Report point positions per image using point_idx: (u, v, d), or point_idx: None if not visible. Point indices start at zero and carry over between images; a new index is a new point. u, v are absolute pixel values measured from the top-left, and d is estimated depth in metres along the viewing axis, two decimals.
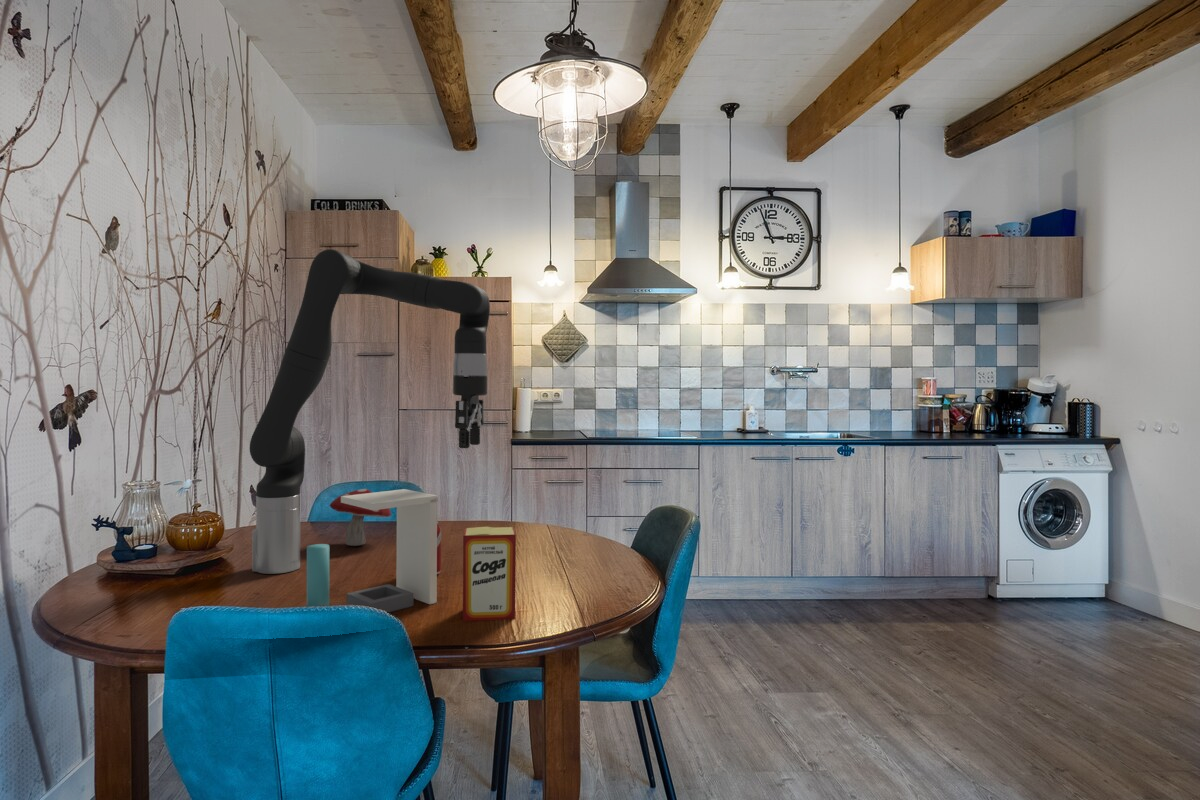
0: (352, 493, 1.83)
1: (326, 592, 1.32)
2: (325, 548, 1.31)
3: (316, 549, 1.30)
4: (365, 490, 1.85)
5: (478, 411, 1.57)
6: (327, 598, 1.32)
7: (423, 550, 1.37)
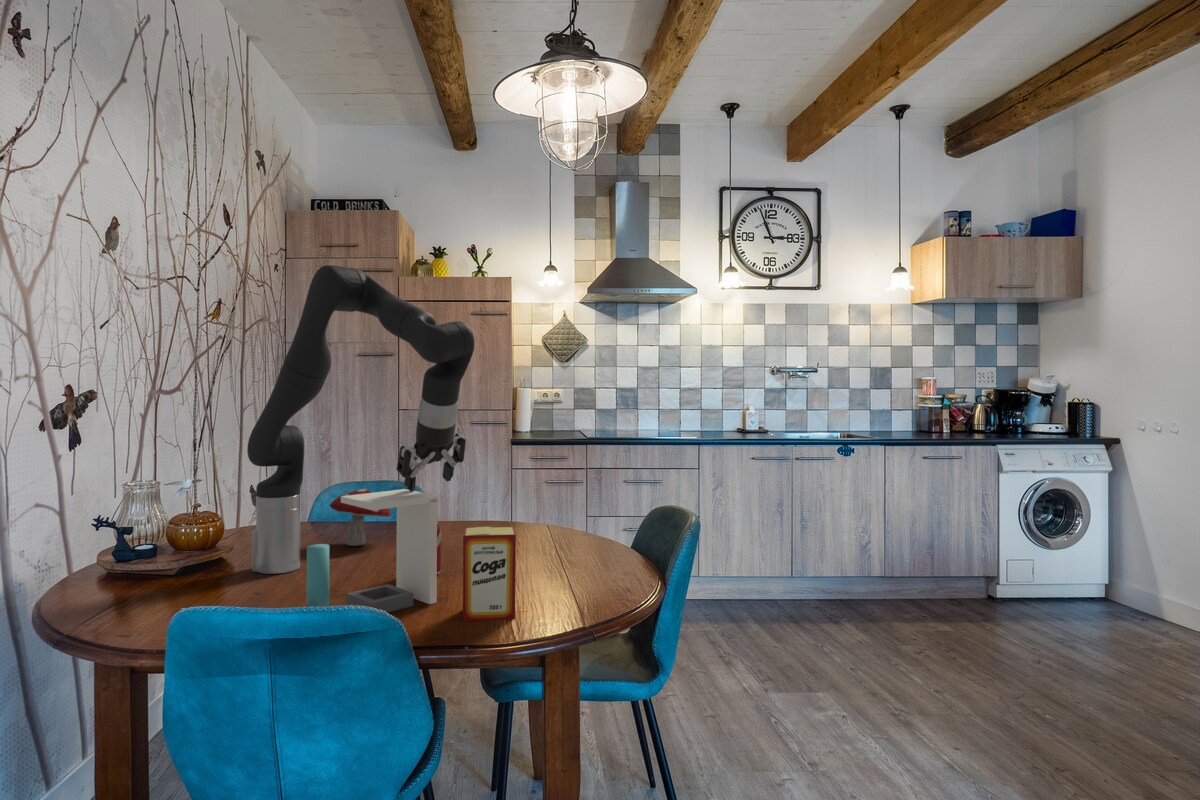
0: (352, 493, 1.83)
1: (326, 592, 1.32)
2: (325, 548, 1.31)
3: (316, 549, 1.30)
4: (365, 490, 1.85)
5: (442, 455, 1.41)
6: (327, 598, 1.32)
7: (423, 550, 1.37)
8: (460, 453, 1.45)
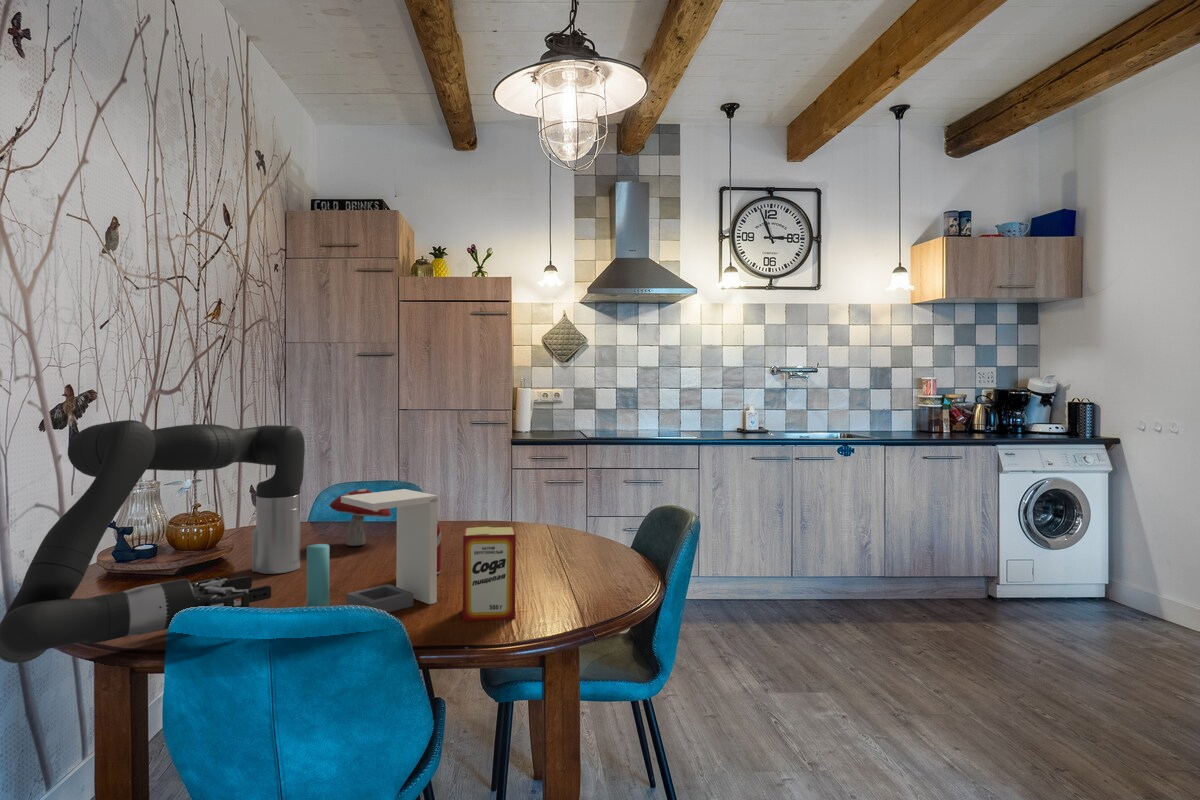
0: (352, 493, 1.83)
1: (326, 593, 1.32)
2: (325, 548, 1.31)
3: (316, 549, 1.30)
4: (365, 490, 1.85)
5: None
6: (327, 598, 1.32)
7: (423, 550, 1.37)
8: None
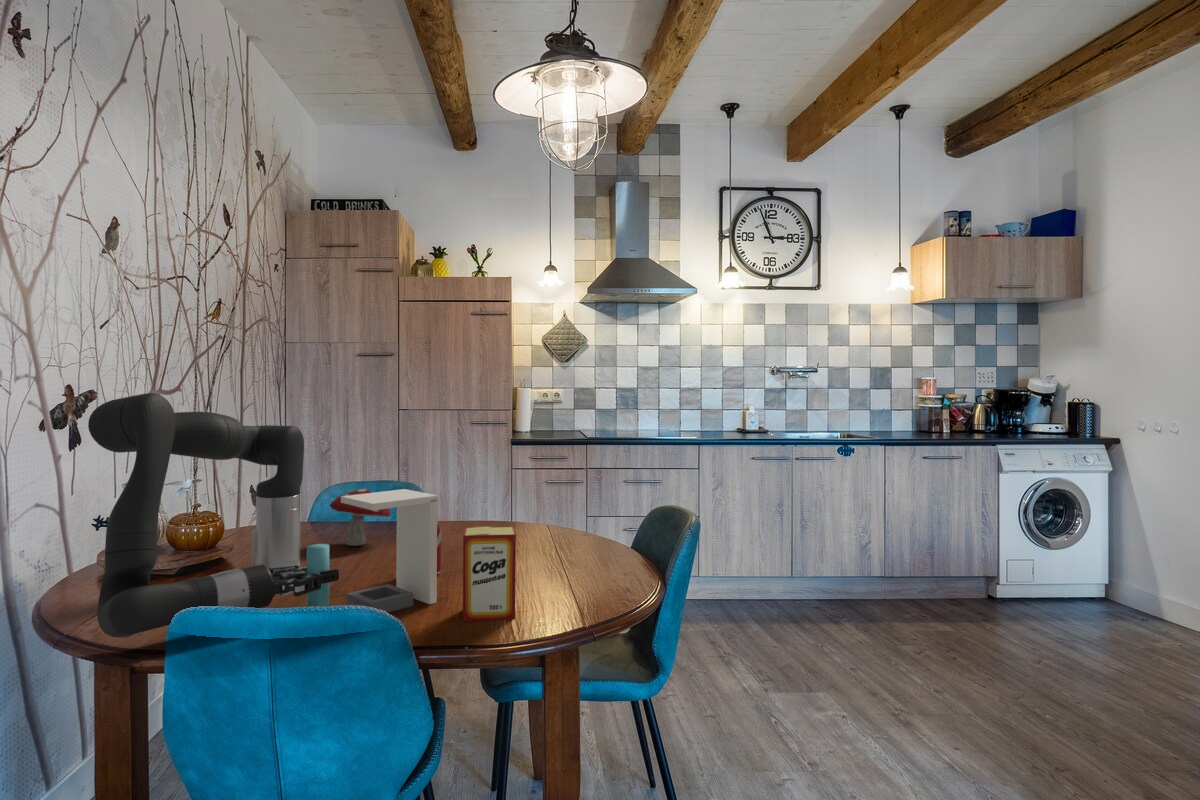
0: (352, 493, 1.83)
1: (326, 592, 1.32)
2: (325, 548, 1.31)
3: (316, 549, 1.30)
4: (365, 490, 1.85)
5: None
6: (327, 598, 1.32)
7: (423, 550, 1.37)
8: None
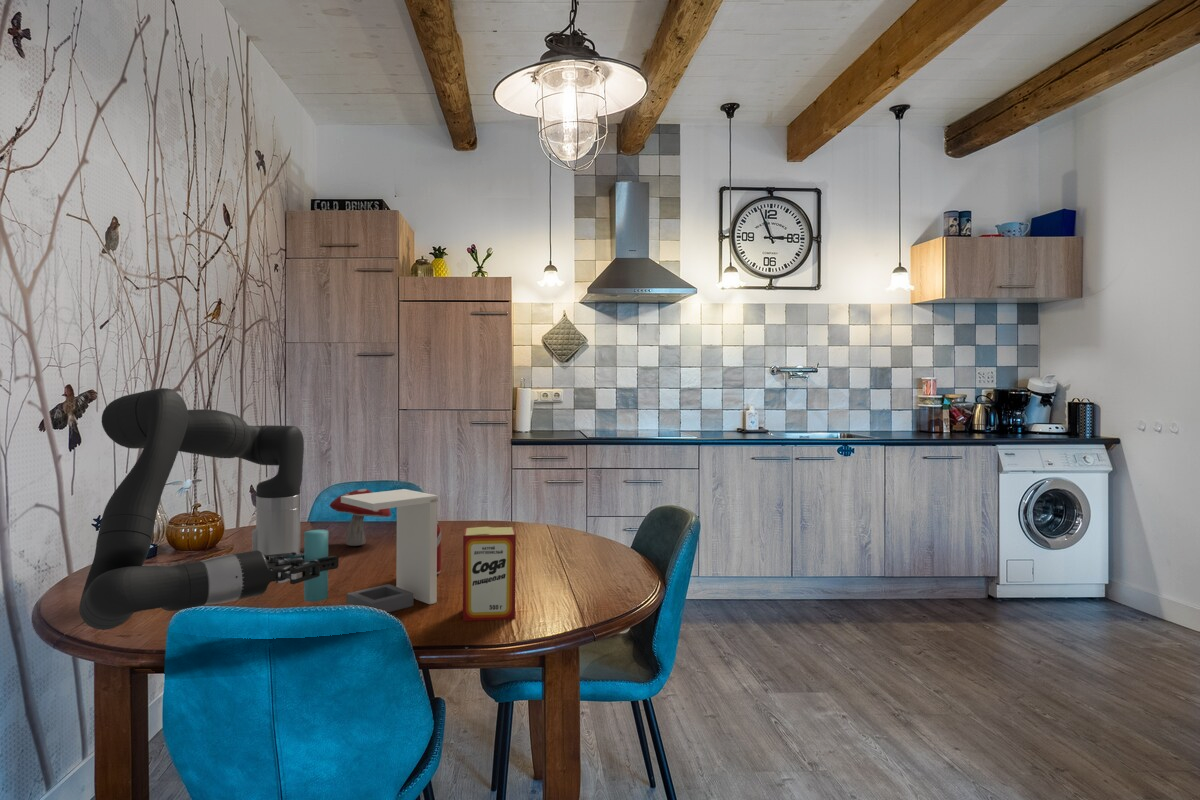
0: (352, 493, 1.83)
1: (325, 581, 1.24)
2: (324, 534, 1.24)
3: (314, 535, 1.23)
4: (365, 490, 1.85)
5: None
6: (326, 586, 1.24)
7: (423, 550, 1.37)
8: None
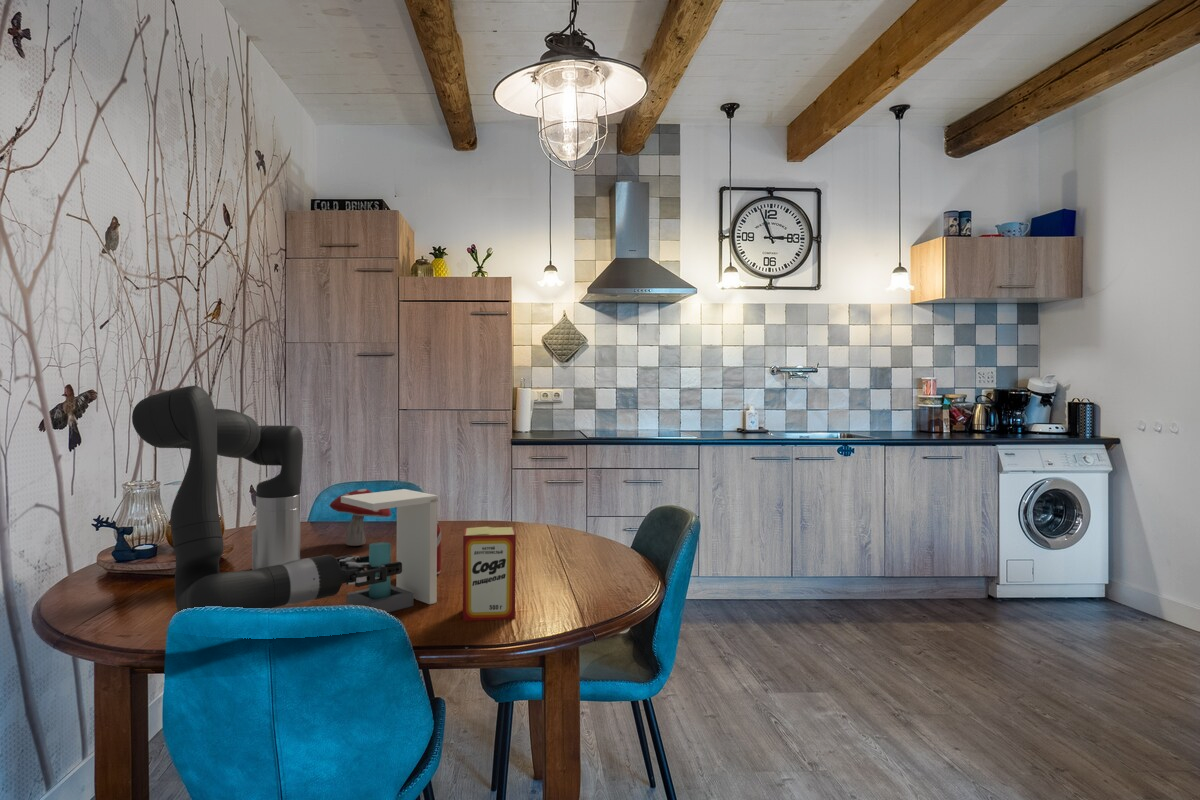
0: (352, 493, 1.83)
1: (388, 590, 1.34)
2: (387, 546, 1.33)
3: (379, 547, 1.32)
4: (365, 490, 1.85)
5: None
6: (389, 595, 1.34)
7: (423, 550, 1.37)
8: None
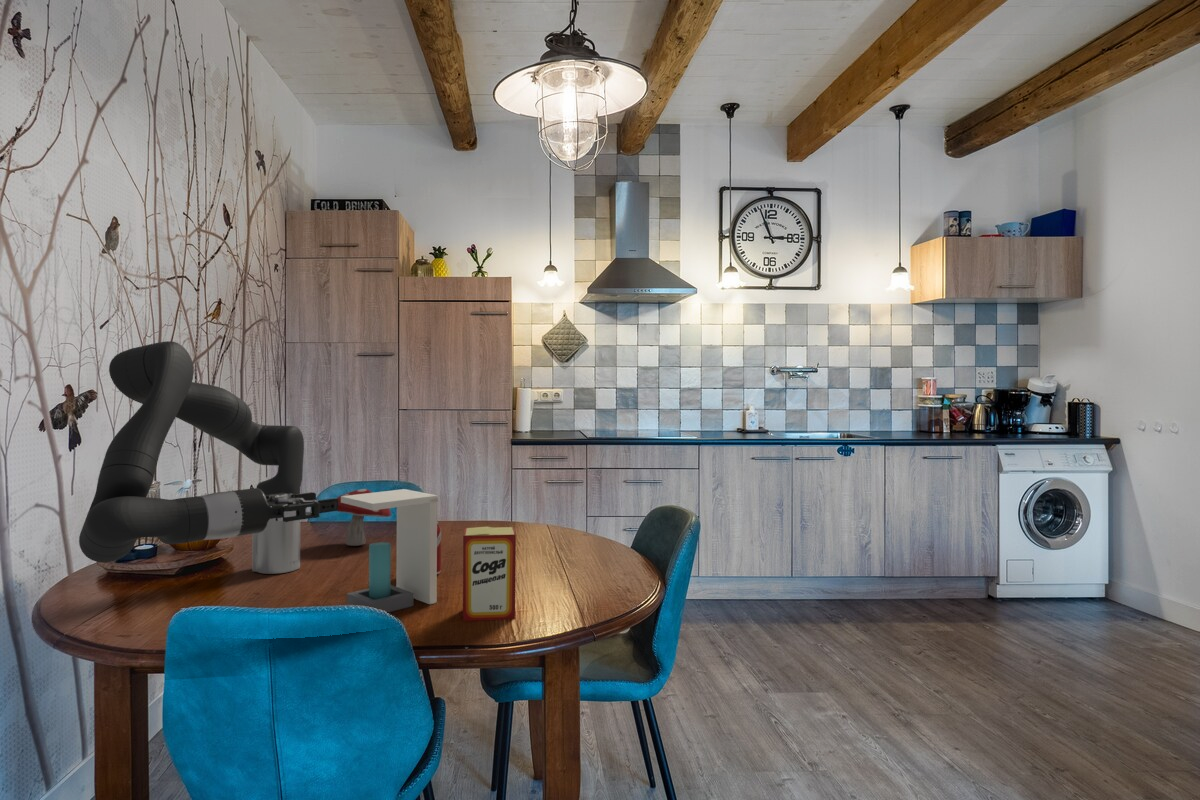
0: (352, 493, 1.83)
1: (388, 590, 1.34)
2: (387, 546, 1.33)
3: (379, 547, 1.32)
4: (365, 490, 1.85)
5: None
6: (389, 595, 1.34)
7: (423, 550, 1.37)
8: None
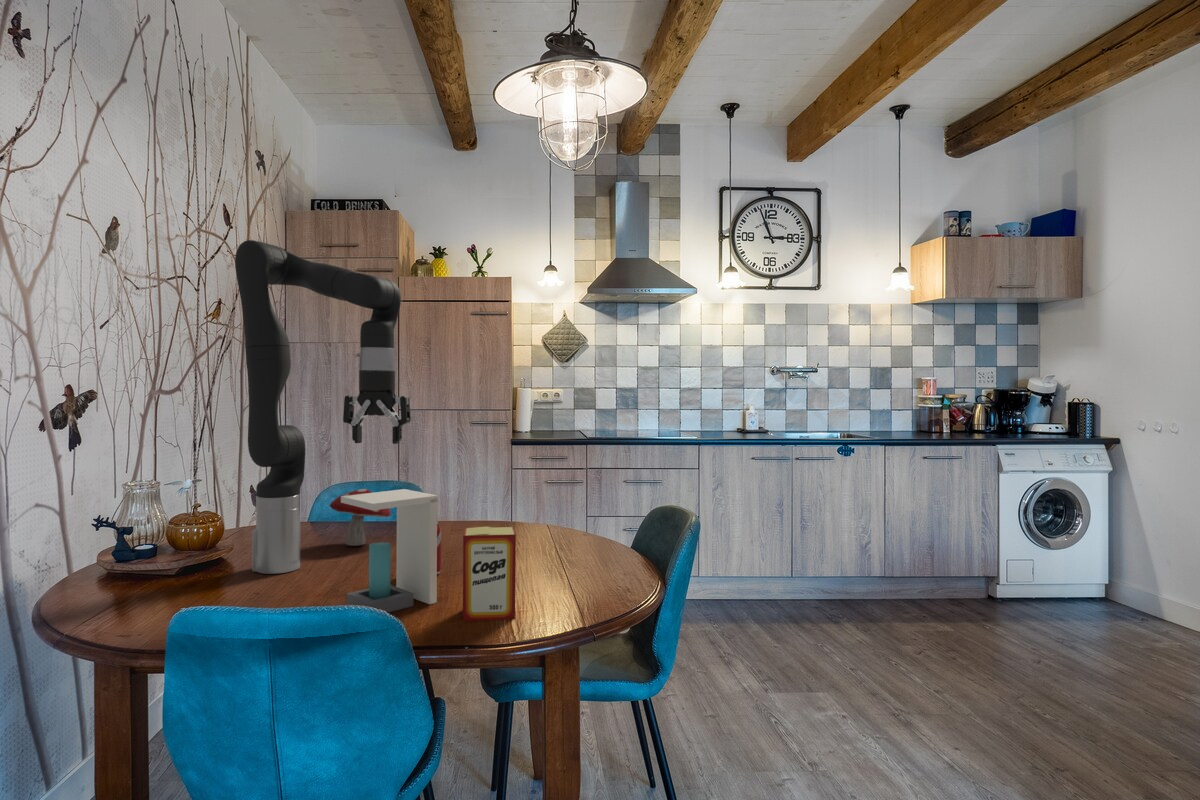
0: (352, 493, 1.83)
1: (388, 590, 1.34)
2: (387, 546, 1.33)
3: (379, 547, 1.32)
4: (365, 490, 1.85)
5: (380, 407, 1.50)
6: (389, 595, 1.34)
7: (423, 550, 1.37)
8: (401, 412, 1.50)
